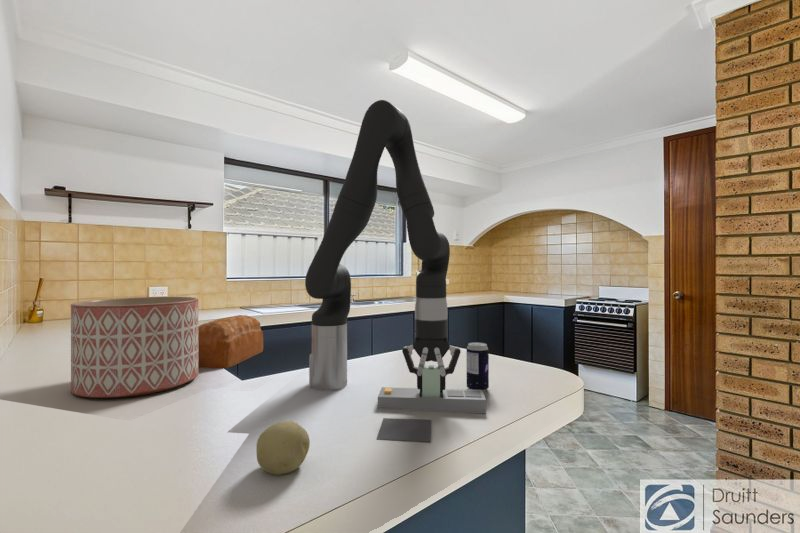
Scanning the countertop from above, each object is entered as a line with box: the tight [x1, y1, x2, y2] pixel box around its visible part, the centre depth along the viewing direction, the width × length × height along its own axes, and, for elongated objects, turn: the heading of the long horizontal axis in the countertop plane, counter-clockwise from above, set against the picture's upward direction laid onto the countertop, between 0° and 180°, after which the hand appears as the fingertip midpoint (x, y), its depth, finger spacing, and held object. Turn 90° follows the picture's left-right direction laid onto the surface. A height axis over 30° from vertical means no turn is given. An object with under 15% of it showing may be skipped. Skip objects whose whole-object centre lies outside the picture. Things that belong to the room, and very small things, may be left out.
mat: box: [376, 417, 432, 444], centre depth 77 cm, size 10×10×1 cm
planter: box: [70, 296, 199, 399], centre depth 102 cm, size 27×27×24 cm
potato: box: [255, 420, 311, 476], centre depth 61 cm, size 8×8×8 cm
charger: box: [422, 364, 440, 397], centre depth 90 cm, size 4×4×8 cm
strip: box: [377, 386, 487, 414], centre depth 90 cm, size 24×7×4 cm, turn 85°
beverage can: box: [466, 341, 490, 393], centre depth 102 cm, size 6×6×12 cm
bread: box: [198, 314, 264, 369], centre depth 130 cm, size 14×26×16 cm, turn 174°
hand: (431, 390), depth 90 cm, fingers closed on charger, 3 cm apart
